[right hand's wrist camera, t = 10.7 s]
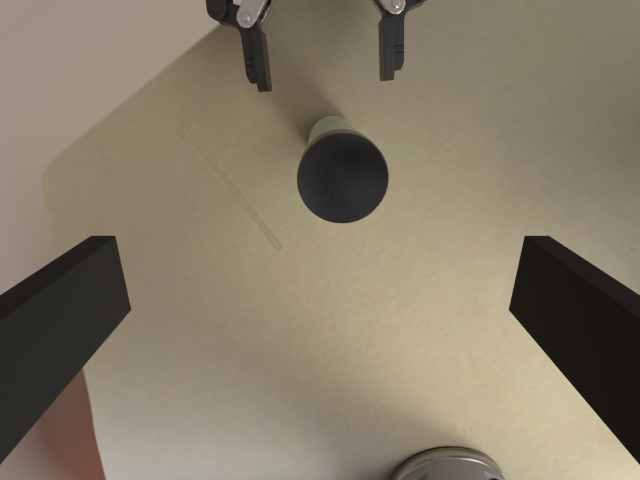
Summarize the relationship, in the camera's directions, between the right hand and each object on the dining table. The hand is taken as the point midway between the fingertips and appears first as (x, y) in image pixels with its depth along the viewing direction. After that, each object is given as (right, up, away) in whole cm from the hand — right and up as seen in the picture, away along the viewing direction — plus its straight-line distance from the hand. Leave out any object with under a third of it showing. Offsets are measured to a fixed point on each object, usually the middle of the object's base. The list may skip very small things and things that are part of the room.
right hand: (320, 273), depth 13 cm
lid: (+1, +4, +6) cm, 8 cm away
